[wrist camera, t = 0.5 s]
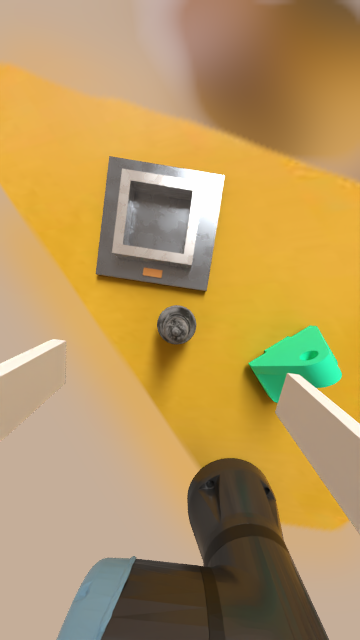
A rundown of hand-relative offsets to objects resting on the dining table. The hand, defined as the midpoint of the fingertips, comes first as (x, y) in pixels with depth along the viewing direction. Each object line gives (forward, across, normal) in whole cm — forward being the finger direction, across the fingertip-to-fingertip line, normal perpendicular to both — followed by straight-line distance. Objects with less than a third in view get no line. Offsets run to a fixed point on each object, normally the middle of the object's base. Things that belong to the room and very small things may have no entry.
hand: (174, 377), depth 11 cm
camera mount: (+20, -20, +6) cm, 29 cm away
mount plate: (+23, +5, -13) cm, 27 cm away
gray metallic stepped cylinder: (+21, 0, +2) cm, 21 cm away
